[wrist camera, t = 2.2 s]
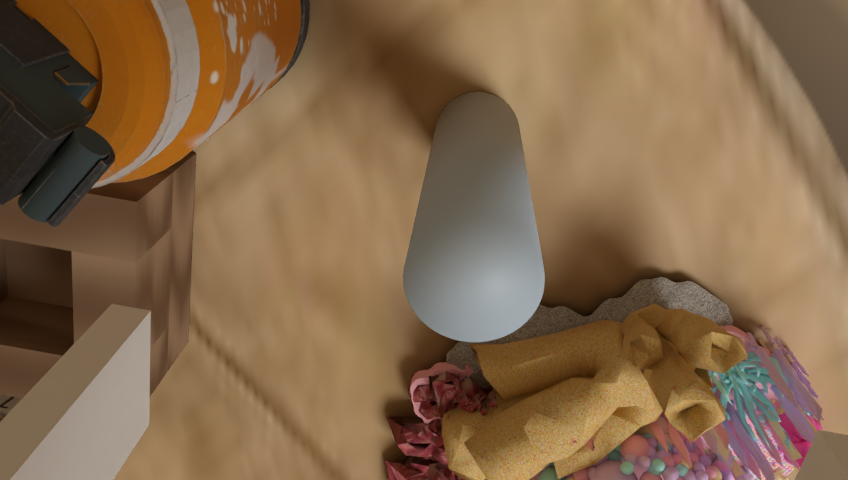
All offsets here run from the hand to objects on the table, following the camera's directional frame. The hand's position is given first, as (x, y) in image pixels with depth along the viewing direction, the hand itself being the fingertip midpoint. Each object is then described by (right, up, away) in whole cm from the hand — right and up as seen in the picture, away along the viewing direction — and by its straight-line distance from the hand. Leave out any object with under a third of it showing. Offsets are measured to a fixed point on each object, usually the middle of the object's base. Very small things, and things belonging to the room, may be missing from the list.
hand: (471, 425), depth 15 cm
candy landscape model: (+10, -9, +29) cm, 32 cm away
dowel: (+2, +9, +21) cm, 23 cm away
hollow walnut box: (-19, +4, +25) cm, 31 cm away
